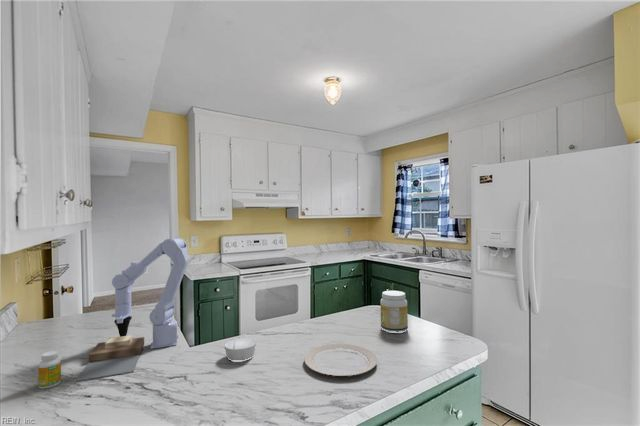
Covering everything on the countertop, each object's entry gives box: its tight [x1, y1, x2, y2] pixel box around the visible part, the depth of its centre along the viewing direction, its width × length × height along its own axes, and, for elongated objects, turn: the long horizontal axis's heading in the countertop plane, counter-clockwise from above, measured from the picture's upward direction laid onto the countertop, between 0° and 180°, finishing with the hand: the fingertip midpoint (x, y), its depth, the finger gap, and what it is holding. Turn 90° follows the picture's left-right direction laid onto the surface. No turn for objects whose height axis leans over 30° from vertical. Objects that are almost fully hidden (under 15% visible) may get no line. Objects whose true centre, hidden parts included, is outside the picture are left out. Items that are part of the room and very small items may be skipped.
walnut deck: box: [88, 336, 145, 363], centre depth 122 cm, size 16×12×3 cm
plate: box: [304, 343, 378, 377], centre depth 111 cm, size 26×26×2 cm
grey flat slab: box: [75, 354, 141, 383], centre depth 109 cm, size 16×14×1 cm
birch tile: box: [105, 334, 133, 349], centre depth 123 cm, size 8×6×2 cm
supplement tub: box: [379, 290, 409, 332], centre depth 144 cm, size 12×12×17 cm
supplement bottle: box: [37, 350, 62, 389], centre depth 99 cm, size 5×5×10 cm
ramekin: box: [224, 337, 257, 360], centre depth 117 cm, size 11×11×5 cm
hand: (123, 335), depth 130 cm, fingers closed
